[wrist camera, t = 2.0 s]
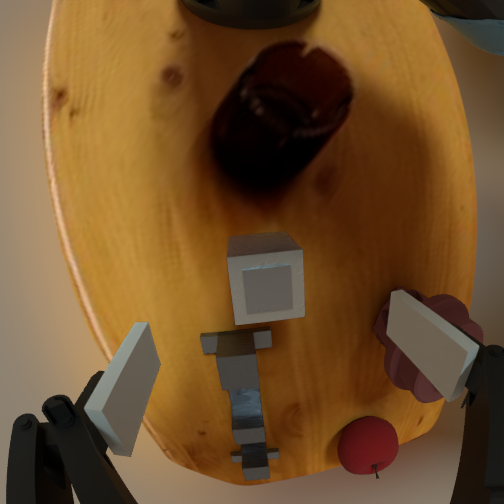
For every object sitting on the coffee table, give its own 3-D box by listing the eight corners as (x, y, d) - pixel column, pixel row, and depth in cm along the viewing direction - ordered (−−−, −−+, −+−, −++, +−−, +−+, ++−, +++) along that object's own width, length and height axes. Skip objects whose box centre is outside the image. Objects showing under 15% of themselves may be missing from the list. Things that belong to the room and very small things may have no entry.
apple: (395, 416, 33) (421, 459, 24) (352, 448, 35) (370, 492, 25) (367, 399, 31) (395, 451, 22) (318, 436, 33) (335, 488, 23)
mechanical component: (435, 314, 29) (375, 363, 30) (413, 253, 26) (342, 309, 27) (496, 363, 17) (422, 430, 18) (493, 294, 14) (399, 383, 15)
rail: (200, 333, 27) (196, 359, 23) (269, 326, 27) (276, 351, 23) (232, 458, 33) (233, 481, 29) (278, 454, 33) (282, 476, 29)
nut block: (228, 236, 25) (226, 258, 18) (284, 230, 25) (303, 250, 18) (234, 288, 26) (235, 327, 19) (287, 282, 26) (305, 318, 19)
